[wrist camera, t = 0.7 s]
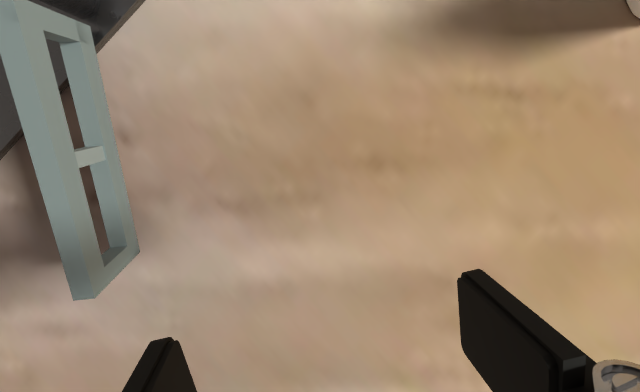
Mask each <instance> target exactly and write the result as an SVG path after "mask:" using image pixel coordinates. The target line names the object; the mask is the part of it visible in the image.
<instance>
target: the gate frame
mask: <svg viewBox="0 0 640 392" xmlns="http://www.w3.org/2000/svg"><path fill="white" fill-rule="evenodd" d="M28 1H31V2H33V3H35V4H38V5H40V6H43V7H45V8H47V9H50V10H52V11H55V12H57V13H60V14H62V15H64V16H67V17H69V18H72V19H74V20H76V21H79V22H81V23H84V24H86V25H89V26H90V28H91V32H92V37H93V41H94V46H95V51H96V54H97V53H98V52H99V51H100V50H101V49H102V47H103V46H104V45H105V44H106V43H107V42H108V41H109V40H110V39H111V38H112V36H113V35H114V34H115V33H116V32H117V31H118V30H119V29H120V28H121V27H122V25H123V24H124V23H125V22H126V21H127V20H128V19H129V18H130V17H131V16H132V14H133V13H134V12H135V11H136V10H137V9H138V8H139V7H140V6H141V5H142V4H143V2H144V1H145V0H28ZM46 43H47V47H48V51H49V55H50V58H51V62H52V66H53V70H54V74H55V78H56V82H57V86H58V90H59V93H60V94H61V93H62V91H63V90H64V89H65V88H66V87H67V86H68V85H69V80H68V76H67V72H66V68H65V64H64V60H63V56H62V52H61V48H60V44H59V42H56V41H52V40H49V39H46ZM23 134H24V132H23V129H22V125H21V122H20V119H19V115H18V112H17V108H16V105H15V102H14V98H13V95H12V92H11V88H10V85H9V81H8V78H7V75H6V71H5V68H4V65H3V61H2V58H1V54H0V160H1V159H2V157H3V156H4V155H5V154H6V153H7V152H8V151H9V150H10V149H11V148H12V146H13V145H14V144H15V143H16V142H17V141H18V140H19V139H20V138H21V137H22V135H23Z"/></svg>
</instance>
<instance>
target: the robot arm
mask: <svg viewBox="0 0 640 392" xmlns="http://www.w3.org/2000/svg"><path fill="white" fill-rule="evenodd" d="M457 286H458V302H459V317H460V333H461V345H462V348H463V351H464V353H465V355H466V356H467V358H468V359H469V360H470V362H471V363H472V364H473V366H474V367H475V368H476V370H477V371H478V372H479V374H480V375H481V377H482V378H483V379H484V381H485V382H486V383H487V385H488V386H489V387H490V389H491V390H492V391H493V392H640V365H638V364H635V363H632V362H628V361H622V360H604V361H601V362H598V363H596V362H595V361H593V360H592V359H591V358H590V357H588V356H587V355H586V354H585V353H583V352H582V351H581V350H580V349H579V348H577V347H576V346H575V345H574V344H572V343H571V342H570V341H569V340H567V339H566V338H565V337H564V336H563V335H561V334H560V333H559V332H558V331H556V330H555V329H554V328H553V327H552V326H550V325H549V324H548V323H547V322H545V321H544V320H543V319H542V318H540V317H539V316H538V315H537V314H536V313H534V312H533V311H532V310H531V309H529V308H528V307H527V306H525V305H524V304H523V303H522V302H521V301H519V300H518V299H517V298H516V297H514V296H513V295H512V294H511V293H510V292H508V291H507V290H506V289H505V288H503V287H502V286H501V285H500V284H498V283H497V282H496V281H495V280H494V279H492V278H491V277H490V276H489V275H487V274H486V273H485V272H484V271H483V270H481V269H476V270H472V271H467V272H463V273H462V275H461V278H458V280H457ZM122 392H197V390H196V387H195V385H194V382H193V379H192V376H191V374H190V371H189V368H188V365H187V362H186V360H185V357H184V354H183V351H182V348H181V346H180V343H179V341H177V340H176V341H174V340H173V339H172V338H171V337H168V338H163V339H159V340H154V341H151V342H150V343H149V345H148V347H147V348H146V350H145V352H144V354H143V355H142V357H141V359H140V361H139V362H138V364H137V366H136V368H135V370H134V371H133V373H132V375H131V377H130V378H129V380H128V382H127V384H126V385H125V387H124V389H123V391H122Z"/></svg>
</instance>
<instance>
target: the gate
mask: <svg viewBox="0 0 640 392" xmlns="http://www.w3.org/2000/svg"><path fill="white" fill-rule="evenodd" d="M46 39H49V40H52V41H56V42H59V44H60V48H61V52H62V56H63V60H64V64H65V68H66V72H67V76H68V80H69V84H70V88H71V93H72V97H73V101H74V105H75V109H76V113H77V117H78V121H79V125H80V129H81V133H82V137H83V141H84V145H85V147H83V148H78V149H74V148H73V144H72V140H71V136H70V132H69V128H68V124H67V121H66V117H65V113H64V109H63V105H62V101H61V97H60V93H59V90H58V86H57V82H56V78H55V74H54V70H53V66H52V62H51V58H50V55H49V51H48V47H47V43H46ZM0 54H1V58H2V61H3V65H4V68H5V71H6V75H7V78H8V81H9V85H10V88H11V92H12V95H13V98H14V102H15V105H16V108H17V112H18V115H19V119H20V122H21V125H22V129H23V132H24V135H25V139H26V142H27V146H28V149H29V152H30V156H31V159H32V162H33V166H34V169H35V173H36V176H37V179H38V183H39V186H40V189H41V193H42V196H43V200H44V203H45V206H46V210H47V213H48V216H49V220H50V223H51V227H52V230H53V233H54V237H55V240H56V243H57V247H58V250H59V254H60V257H61V260H62V264H63V267H64V270H65V274H66V277H67V281H68V284H69V287H70V291H71V294H72V297H73V301H74V300H83V299H93V298H96V297H97V296H98V295H99V294H100V293H101V292H102V290H103V289H104V288H105V287H106V286H107V285H108V284H109V283H110V282H111V281H112V280H113V279H114V278H115V277H116V276H117V275H118V274H119V273H120V272H121V271H122V270H123V269H124V268H125V267H126V266H127V265H128V264H129V263H130V262H131V261H132V259H133V258H134V257H135V256H136V255H137V254H138V253H139V252H140V250H139V245H138V240H137V236H136V231H135V227H134V222H133V218H132V213H131V209H130V204H129V200H128V195H127V191H126V186H125V182H124V177H123V173H122V168H121V164H120V159H119V155H118V150H117V146H116V141H115V136H114V132H113V127H112V123H111V118H110V114H109V109H108V105H107V100H106V96H105V91H104V87H103V82H102V78H101V73H100V69H99V64H98V60H97V55H96V51H95V46H94V41H93V37H92V32H91V28H90V26H89V25H86V24H84V23H81V22H79V21H76V20H74V19H72V18H69V17H67V16H64V15H62V14H60V13H57V12H55V11H52V10H50V9H47V8H45V7H43V6H40V5H38V4H35V3H33V2H31V1H28V0H0ZM88 165H90V169H91V173H92V177H93V181H94V185H95V189H96V193H97V197H98V201H99V205H100V209H101V213H102V218H103V222H104V226H105V230H106V234H107V238H108V242H109V246H110V248H109V249H108V250H107V251H105V252H104V253H103V254H102V255H101V252H100V249H99V245H98V241H97V237H96V233H95V229H94V225H93V221H92V217H91V214H90V210H89V206H88V202H87V198H86V194H85V190H84V186H83V183H82V179H81V175H80V171H79V168H81V167H85V166H88Z"/></svg>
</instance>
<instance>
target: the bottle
mask: <svg viewBox="0 0 640 392" xmlns="http://www.w3.org/2000/svg"><path fill="white" fill-rule="evenodd" d="M627 4H628V6H629V7H630V9H631V11H632V13H633V14H634V15H635V16H637V17H638V18H639V19H640V0H627Z"/></svg>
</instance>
